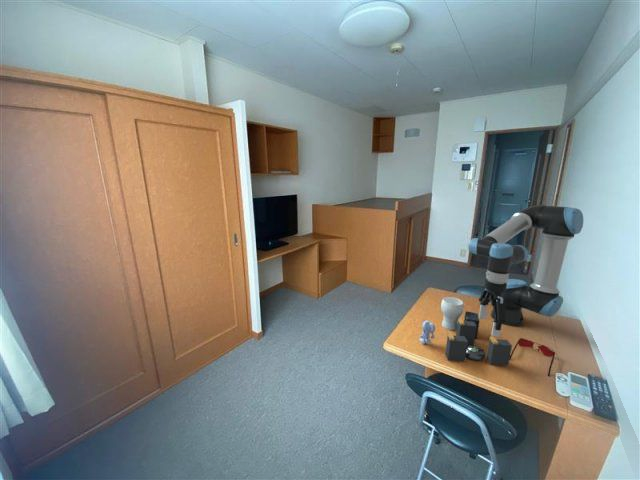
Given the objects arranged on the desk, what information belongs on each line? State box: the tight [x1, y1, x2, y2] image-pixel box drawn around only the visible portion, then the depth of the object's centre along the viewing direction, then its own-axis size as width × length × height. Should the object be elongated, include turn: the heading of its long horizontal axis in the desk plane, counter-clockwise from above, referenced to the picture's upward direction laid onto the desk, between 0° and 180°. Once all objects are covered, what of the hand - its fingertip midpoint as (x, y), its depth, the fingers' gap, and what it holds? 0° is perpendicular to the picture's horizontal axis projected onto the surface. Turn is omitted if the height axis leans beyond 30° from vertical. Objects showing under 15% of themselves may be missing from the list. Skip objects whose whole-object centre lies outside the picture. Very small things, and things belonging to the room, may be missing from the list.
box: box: [463, 310, 480, 340], centre depth 135 cm, size 8×6×11 cm
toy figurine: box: [419, 320, 436, 345], centre depth 128 cm, size 7×6×12 cm
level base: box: [465, 343, 486, 363], centre depth 120 cm, size 10×10×4 cm
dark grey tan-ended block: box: [485, 336, 513, 367], centre depth 114 cm, size 7×4×11 cm, turn 81°
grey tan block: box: [455, 318, 477, 345], centre depth 129 cm, size 7×4×11 cm, turn 81°
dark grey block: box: [445, 332, 468, 363], centre depth 117 cm, size 7×4×11 cm, turn 81°
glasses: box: [509, 337, 556, 377], centre depth 117 cm, size 14×16×5 cm
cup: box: [440, 296, 464, 331], centre depth 142 cm, size 11×11×15 cm
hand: (488, 326), depth 115 cm, fingers open, 13 cm apart
